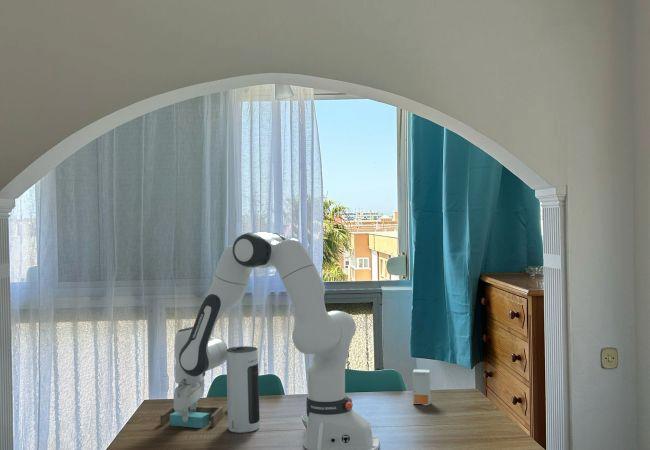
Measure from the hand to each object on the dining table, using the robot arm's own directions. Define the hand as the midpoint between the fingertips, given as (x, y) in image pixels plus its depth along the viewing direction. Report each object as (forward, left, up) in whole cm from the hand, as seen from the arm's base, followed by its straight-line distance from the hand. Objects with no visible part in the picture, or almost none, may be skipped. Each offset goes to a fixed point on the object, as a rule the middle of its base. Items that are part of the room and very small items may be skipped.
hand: (189, 417), depth 214 cm
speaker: (-19, +3, -2) cm, 19 cm away
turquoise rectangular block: (0, 0, -2) cm, 2 cm away
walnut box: (0, -3, -2) cm, 4 cm away
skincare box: (-77, -28, -2) cm, 82 cm away
